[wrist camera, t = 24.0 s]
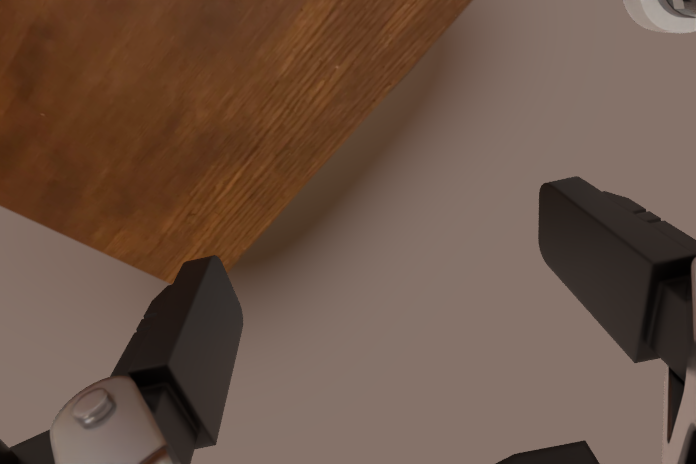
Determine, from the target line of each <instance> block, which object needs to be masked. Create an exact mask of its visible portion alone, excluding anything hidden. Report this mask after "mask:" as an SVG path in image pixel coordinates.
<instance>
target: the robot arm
mask: <svg viewBox="0 0 696 464" xmlns="http://www.w3.org/2000/svg"><path fill="white" fill-rule="evenodd" d="M658 2H659V3H660V5H661V6H662V7H663V9H664V10H666V11H667V12H668V13H670V14H672V15H674V16H677V17H681V18H696V0H658ZM538 239H539V247H540V251H541V254H542V257H543V259H544V260H545V262H546V264H547V265H548V266H549V267H550V268H551V269H552V271H553V272H554V273H555V274H556V275H557V276H558V277H559V278H560V280H561V281H562V282H563V283H564V284H565V285H566V286H567V287H568V288H569V290H570V291H571V292H572V293H573V294H574V295H575V296H576V297H577V299H578V300H579V301H580V302H581V303H582V304H583V305H584V307H585V308H586V309H587V310H588V311H589V312H590V313H591V314H592V316H593V317H594V318H595V319H596V320H597V321H598V322H599V323H600V325H601V326H602V327H603V328H604V329H605V330H606V331H607V332H608V334H609V335H610V336H611V337H612V338H613V339H614V340H615V341H616V343H617V344H618V345H619V346H620V347H621V348H622V349H623V350H624V351H625V353H626V354H627V355H628V356H629V357H630V358H631V359H632V361H633V362H634V363H638V362H643V361H648V360H653V359H658V358H661V359H662V360H663V361H664V362H665V363H666V364H667V370H666V374H665V384H664V385H665V386H664V416H663V417H664V418H663V448H662V464H696V240H695V239H693V238H692V237H690V236H688V235H687V234H685V233H684V232H682V231H680V230H679V229H677V228H675V227H674V226H672V225H671V224H669V223H667V222H666V221H661V218H659V217H658V216H656V215H654V214H653V213H651V212H646V209H644V208H643V207H641V206H640V205H638V204H637V203H635V202H633V201H632V200H630V199H629V198H626V197H622V196H619V195H615V194H612V193H609V192H605V191H603V192H601V191H600V190H598V189H597V188H595V187H594V186H592V185H591V184H589V183H588V182H586V181H585V180H583V179H581V178H580V177H571V178H566V179H562V180H558V181H553V182H549V183H544V184H543V185H542V186H541V188H540V192H539V238H538ZM242 327H243V315H242V309H241V306H240V303H239V301H238V298H237V296H236V294H235V291H234V290H233V287H232V285H231V282H230V280H229V278H228V275H227V273H226V271H225V269H224V266H223V264H222V262H221V260H220V259H219V258H218V257H217V256H215V255H214V256H209V257H205V258H200V259H196V260H191V261H187V262H185V263H184V264H183V265H182V267H181V269H180V271H179V273H178V275H177V277H176V279H175V281H174V283H173V284H172V285H169V286H167V287H166V288H165V289H164V290H163V291H162V292H161V293H160V294H159V295H158V296H157V297H156V298H155V299H154V300H153V301H152V302H151V304H150V306H149V308H148V310H147V311H146V313H145V315H144V319H142V320H141V322H140V324H139V326H138V327H137V332H136V333H134V335H133V336H132V338H131V340H130V342H129V344H128V345H127V347H126V349H125V351H124V352H123V354H122V356H121V358H120V360H119V361H118V363H117V365H116V367H115V369H114V371H113V372H112V374H111V376H110V377H108V378H105V379H102V380H100V381H98V382H96V383H93V384H92V385H90V386H88V387H86V388H85V389H83V390H82V391H80V392H79V393H78V394H76V395H75V396H74V397H73V398H72V399H71V400H69V401H68V402H67V403H66V404H65V406H64V407H63V408H62V409H61V410H60V412H59V413H58V414H57V416H56V417H55V419H54V421H53V423H52V425H51V428H50V430H48V431H46V432H43V433H41V434H39V435H37V436H35V437H33V438H30V439H28V440H26V441H24V442H21V443H19V444H17V445H15V446H12V447H10V448H9V447H7V446H6V444H4V442H3V441H2V440H0V464H190V463H191V459H192V456H193V452H194V449H198V448H203V447H208V446H213V445H216V442H217V437H218V432H219V429H220V424H221V420H222V415H223V411H224V407H225V402H226V398H227V394H228V389H229V385H230V380H231V376H232V372H233V368H234V363H235V359H236V355H237V350H238V346H239V341H240V337H241V333H242ZM496 464H599V462H598V461H597V459H596V457H595V456H594V454H593V452H592V451H591V450H590V448H589V446H588V444H587V443H586V441H580V442H575V443H570V444H564V445H559V446H554V447H549V448H544V449H539V450H533V451H528V452H523V453H518V454H514V455H512V456H510V457H508V458H506V459H504V460H502V461H500V462H498V463H496Z"/></svg>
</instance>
